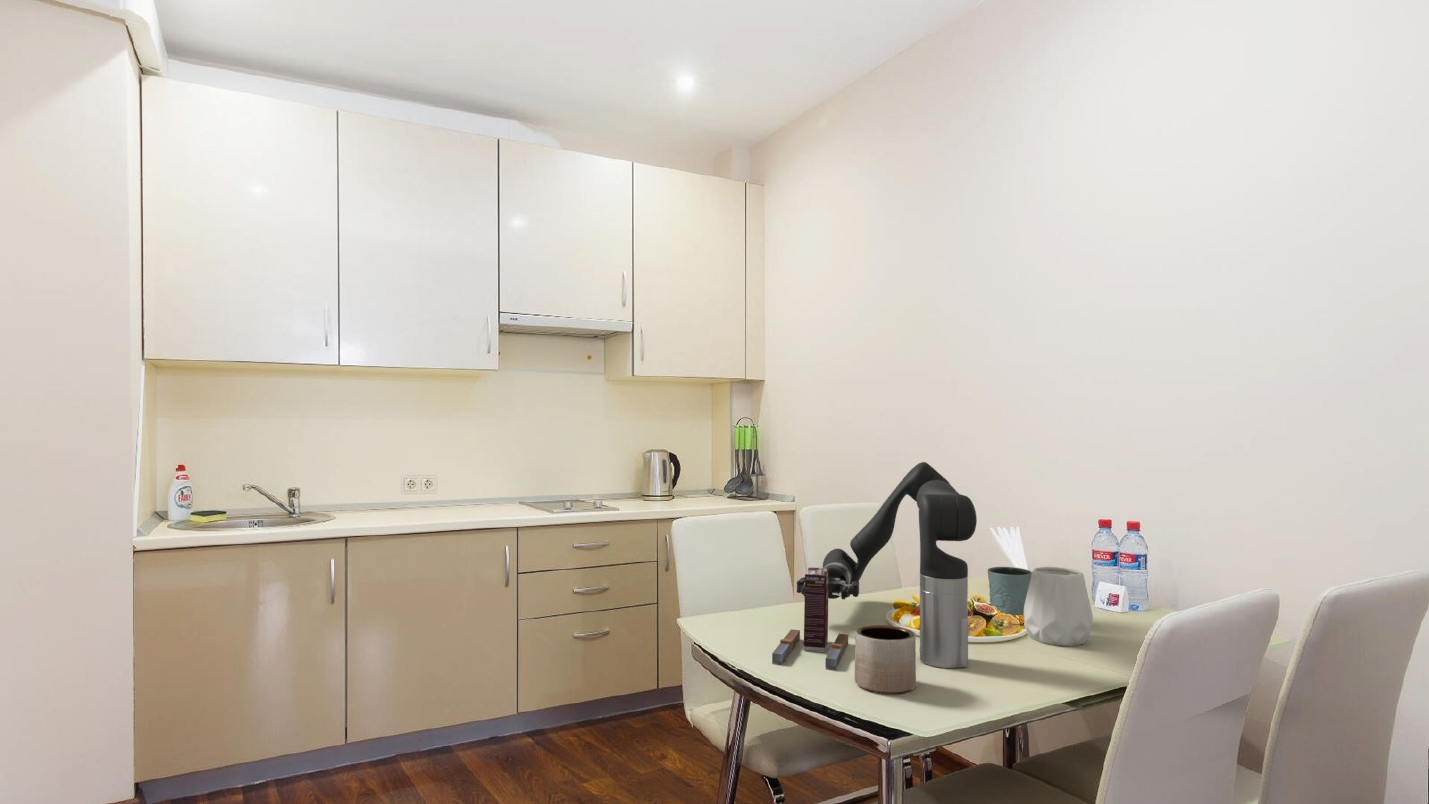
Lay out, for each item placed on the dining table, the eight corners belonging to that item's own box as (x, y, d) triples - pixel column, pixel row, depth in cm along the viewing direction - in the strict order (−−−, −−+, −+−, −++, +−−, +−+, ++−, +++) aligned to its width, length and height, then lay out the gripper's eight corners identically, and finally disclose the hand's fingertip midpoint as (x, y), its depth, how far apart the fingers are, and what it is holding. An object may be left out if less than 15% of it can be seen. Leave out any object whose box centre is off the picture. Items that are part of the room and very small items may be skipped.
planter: (926, 685, 145) (926, 632, 145) (897, 700, 137) (897, 644, 137) (874, 672, 152) (874, 621, 153) (843, 685, 144) (843, 632, 145)
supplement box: (826, 652, 165) (826, 575, 165) (802, 651, 166) (803, 574, 166) (828, 641, 173) (829, 567, 174) (806, 639, 174) (807, 566, 175)
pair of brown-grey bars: (848, 643, 172) (848, 631, 172) (835, 669, 153) (835, 656, 153) (790, 638, 175) (790, 626, 175) (772, 663, 157) (772, 650, 157)
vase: (1094, 636, 179) (1093, 568, 180) (1091, 652, 167) (1091, 579, 167) (1027, 628, 186) (1027, 563, 186) (1020, 643, 173) (1020, 573, 174)
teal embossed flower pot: (1026, 616, 197) (1026, 567, 198) (1036, 626, 187) (1036, 575, 188) (983, 614, 199) (984, 566, 199) (992, 624, 189) (992, 573, 189)
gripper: (863, 597, 193) (855, 612, 178) (805, 593, 197) (792, 607, 182) (863, 566, 193) (855, 578, 178) (805, 562, 197) (792, 574, 182)
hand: (823, 593), depth 180 cm, fingers open, 8 cm apart
